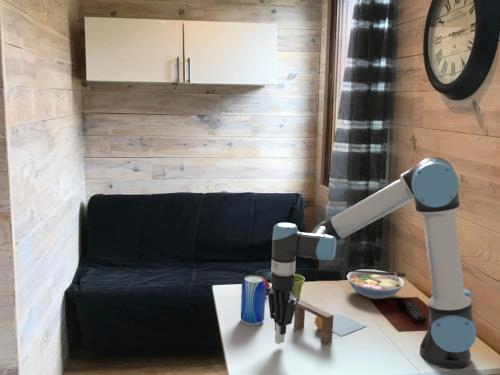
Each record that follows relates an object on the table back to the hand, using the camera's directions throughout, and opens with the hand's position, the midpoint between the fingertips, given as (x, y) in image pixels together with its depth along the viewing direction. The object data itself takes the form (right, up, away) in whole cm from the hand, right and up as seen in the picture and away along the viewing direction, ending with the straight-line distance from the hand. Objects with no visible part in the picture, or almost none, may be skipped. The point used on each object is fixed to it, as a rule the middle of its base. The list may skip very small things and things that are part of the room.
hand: (279, 342), depth 168 cm
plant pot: (+7, +5, +40) cm, 41 cm away
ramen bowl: (+41, +5, +46) cm, 62 cm away
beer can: (-9, +2, +19) cm, 21 cm away
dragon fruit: (-6, +6, +42) cm, 43 cm away
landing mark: (+22, +1, +18) cm, 29 cm away
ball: (+16, +3, +13) cm, 21 cm away
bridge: (+12, -1, +10) cm, 15 cm away
